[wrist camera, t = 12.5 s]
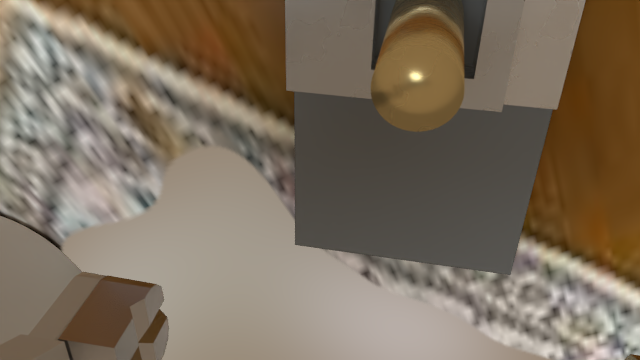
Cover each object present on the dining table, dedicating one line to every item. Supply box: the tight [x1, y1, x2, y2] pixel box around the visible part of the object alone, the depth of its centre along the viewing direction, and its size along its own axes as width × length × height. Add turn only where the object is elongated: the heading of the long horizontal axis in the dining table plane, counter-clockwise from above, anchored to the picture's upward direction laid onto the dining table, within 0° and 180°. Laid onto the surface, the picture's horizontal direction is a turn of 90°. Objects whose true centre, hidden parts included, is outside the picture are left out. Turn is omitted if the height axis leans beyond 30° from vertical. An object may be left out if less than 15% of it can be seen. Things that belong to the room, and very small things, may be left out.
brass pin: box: [371, 0, 465, 132], centre depth 23 cm, size 3×3×8 cm
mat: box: [294, 0, 553, 275], centre depth 29 cm, size 20×12×2 cm, turn 179°
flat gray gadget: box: [285, 0, 586, 112], centre depth 25 cm, size 7×12×2 cm, turn 89°
